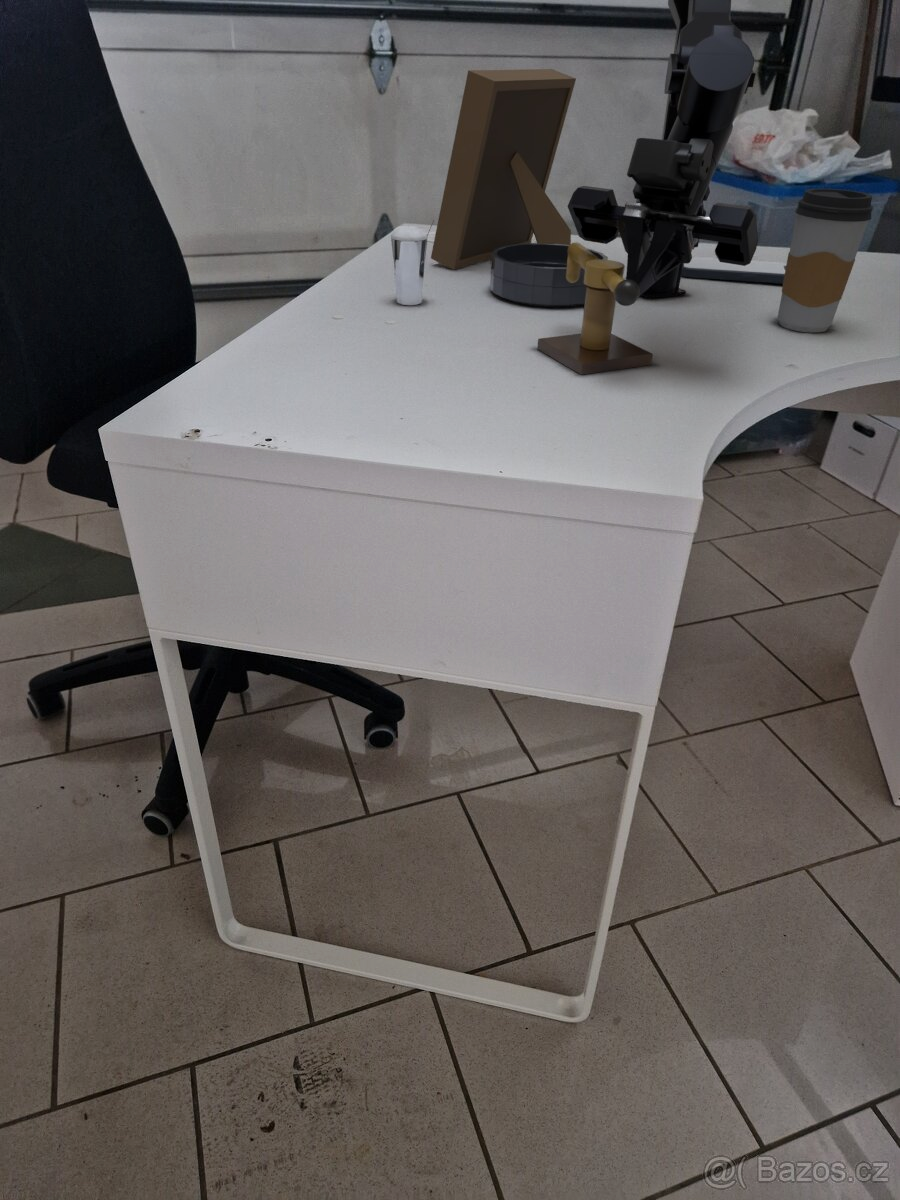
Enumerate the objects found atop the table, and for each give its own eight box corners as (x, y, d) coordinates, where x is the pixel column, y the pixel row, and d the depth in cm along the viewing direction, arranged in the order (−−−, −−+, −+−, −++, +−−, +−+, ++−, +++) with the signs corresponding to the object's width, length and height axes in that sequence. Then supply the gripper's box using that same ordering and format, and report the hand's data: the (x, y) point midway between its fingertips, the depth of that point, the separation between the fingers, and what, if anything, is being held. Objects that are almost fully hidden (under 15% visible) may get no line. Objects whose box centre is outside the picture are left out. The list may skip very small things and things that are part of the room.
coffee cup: (837, 321, 106) (874, 191, 97) (840, 339, 99) (880, 201, 91) (769, 313, 108) (800, 185, 99) (767, 330, 101) (800, 195, 93)
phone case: (678, 279, 123) (791, 286, 120) (680, 267, 122) (794, 275, 119) (680, 266, 130) (787, 273, 127) (682, 255, 129) (789, 262, 126)
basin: (563, 276, 121) (567, 240, 118) (624, 303, 110) (630, 263, 107) (471, 285, 115) (472, 247, 113) (525, 313, 104) (528, 272, 101)
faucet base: (604, 340, 96) (613, 273, 92) (651, 364, 89) (663, 293, 85) (537, 349, 93) (543, 280, 88) (581, 374, 86) (589, 301, 82)
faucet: (645, 332, 81) (653, 282, 78) (605, 333, 81) (612, 282, 78) (586, 280, 98) (591, 238, 95) (553, 280, 97) (557, 238, 95)
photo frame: (430, 265, 125) (433, 68, 110) (508, 243, 139) (519, 67, 125) (513, 282, 118) (528, 74, 104) (586, 257, 132) (607, 72, 118)
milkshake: (428, 308, 105) (429, 223, 99) (387, 305, 106) (386, 220, 100) (436, 299, 109) (437, 216, 103) (396, 296, 109) (396, 214, 104)
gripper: (586, 94, 81) (523, 236, 80) (778, 108, 72) (711, 266, 72) (609, 173, 91) (553, 300, 90) (781, 193, 82) (722, 333, 81)
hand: (628, 299), depth 83 cm, fingers closed
